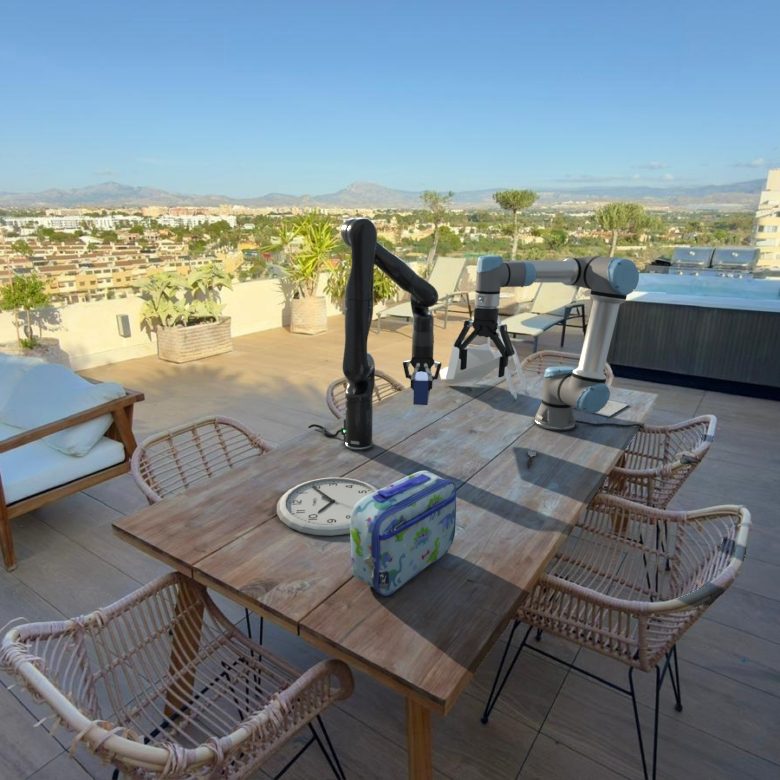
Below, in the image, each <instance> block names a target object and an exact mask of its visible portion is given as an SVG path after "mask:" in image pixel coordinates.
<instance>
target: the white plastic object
mask: <svg viewBox="0 0 780 780" xmlns="http://www.w3.org/2000/svg"><path fill="white" fill-rule="evenodd" d="M497 323H498V325H503V324H502V321H501V318H500V315H498V321H497ZM497 332H498V336H499V338H500V340H501V341H502V343H503V345H504V342H503V339H502V337H501V333H500V331H499V329H497ZM456 340H457V338H454V340H453V344H452V349H451V353H450V357H449V362H448V366H446V367H444V368H440V372H439V376H440V381H442V383H443V384H444V385H445V386H449V385H458V384H467V383H468V384H469V383H473V384H477V383H480V382H482V381H484V378H485V377H486V376H487V375H489V374H490V373H492V372H494V371H495V370H496V369H497V368H499V362H500V357H501V356H502V355H501V353H500V351H499V350H498V349H496V350H495V349H493V348H492V347H491V346H490V344H489V343H488V342H487V343H483V344H479V345H473V346H469V345H468V346H467V347H466V348H465V349H467V365H466V369H464V370H460V366H461V359H459V349H458V348H457V347H454V344H455V342H456ZM464 341H465V339H464V340H463V342H464ZM463 342H462V343H463ZM504 346H505V345H504ZM512 346H513V349H514V352H515V354H514V355H512V356H509V357H508V361H510V360H513V363H514V366H515V369H516V372H517V376H518V380H519V382H520V385H521V389H522V391H523V393H524V395H525V396H526V397H528V396H531V395H530V390H529V388H528V387H529V386H528V384H527V381H526V378H525V375H524V371H523V369H522V368H523V367H522V366H521V362H520V359H519V355H518V352H517V349H516V347H515V346H514V345H513V344H512ZM504 376H505V380H506V383H507V386H508V390H509V393H510V394H511V395H512V397H513V398H514V399H515V400H517V392H516V391H517V390H516V388H515V385H514V381H513V378H512V375H511V371H510V369H509V364H508V365H507V367H505V372H504Z"/></svg>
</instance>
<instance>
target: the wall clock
mask: <svg viewBox="0 0 780 780" xmlns="http://www.w3.org/2000/svg"><path fill="white" fill-rule="evenodd" d="M378 490H380V489H379V488H377V487H376V486H374V485H372V484H371V483H369V482H365V481H362V480H359V479H355V478H349V477H338V476H337V477H335V476H333V477H332V476H331V477H322V478H317V479H312V480H307V481H305V482H302V483H299V484H297V485H295V486H293V487H292V488H290V489H288V490H287V491H286V492H285V493H284V494H283V495H281V496H280V498H279V499H278V502H277V503H276V515H277V517H278V518H279V520H280V521H281V522H282V523H283V524H285V525H286V526H287V527H288V528H290V529H293V530H295V531H297V532H299V533H303V534H308V535H312V536H327V537H328V536H329V537H331V536H332V537H333V536H342V535H350V517H351V513H352V510H353V508H354V506H355V505H356V503H357V502H358V501H359V500H360V499H362V498H364V497H365V496H367V495H370V494H372V493H374V492H376V491H378Z"/></svg>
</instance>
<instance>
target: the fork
mask: <svg viewBox="0 0 780 780" xmlns="http://www.w3.org/2000/svg"><path fill="white" fill-rule="evenodd" d="M533 448H535V449H533ZM533 448H531V447H529V448H528V451H527V456H529V459H528V460H527V469H530V467H531V465H532V463H533V460H532V459H533V457H535V456H537V445H536V447H535V445H534V446H533Z"/></svg>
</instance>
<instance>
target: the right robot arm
mask: <svg viewBox="0 0 780 780" xmlns="http://www.w3.org/2000/svg"><path fill="white" fill-rule="evenodd" d="M475 272H476V275H475V290H474V291H475V292H474V293H475V294H474V308H473V321H472V320H471V319H465V320H464V321H463V327H462V329H461V331H460V333H459V335H458V337H457V338H456V339H457V340H456V342H455V344H454V343H453V344H454V347H457V348H458V349H459V359H461V366H460V370H464V369H466V365H467V349H465V348H466V347H467V346H469V345H470V344H471V343H472V342H473V340H474V339H476V338H477V336H478V337H484V338H490V340H492V342H493V344H494V345H495V346H496V348H497V350H499V351H500V353H501V355H502V356H501V357H500V362H499V367H498V375H497V376H498V378H499V379H500V378H503V377H504V376H505V373H504V372H505V367H507V365H508V366H509V360H508V357H509V356H512V355H514V354H515V352H514V349H513V346H514V345H513V343H512V341H511V338H510V336H509V333H508V325H507V324H506V323H504V324H502V325H498V323H497V321H498V316H499V312H500V311H499V306H500V296H501V288H524V287H530V286H532V285H533V284H534V283H535V284H536V283H541V284H542V283H544V284H545V283H547V284H548V283H549V284H550V283H552V284H553V283H557V284H558V283H559V284H562V285H564V286H573V287H579V288H582V289H583V288H584V289H588V290H590V293H589V296H590V297H591V299H592V305H591V310H590V314H589V319H588V323H587V327H586V332H585V335H584V340H583V345H582V349H581V352H580V353H581V354H580V356H579V362H578V365H577V367H574V366H566V365H565V366H564V365H562V366H561V365H559V366H558V365H557V366H549V367H547V368H546V369H545V370H544V375H543V381H542V392H541V402H540V405H539V407H538V410H537V411H536V413H535V417H534V424H535V425H536V426H537V427H539V428H542V429H544V430H549V431H556V432H567V431H572V430H574V429H575V428H576V423H577V424H582V425H588V426H593V427H596V426H597V427H598V426H599V427H601V426H614V427H625V428H630V427H639V428H640V429H645V427H644V426H643V424H642V425H641V424H639V423H630V424H623V423H614V422H613V423H612V422H602V423H600V422H599V423H593V422H589V421H588V422H587V421H583V420H578V419H576V418H575V417H576V416H575V413H574V409H575V410H577V411H579V412H581V413H586V414H589V415H590V414H591V415H593V414H596V412H598V411H600V410H601V409H602V408H603V407H604V406H605V405H606V404H607V402H608V400H610V396H611V390H610V388H609V386H608V385H607V384H606V382H607V376H606V374H605V372H604V371H605V368H606V367H605V366H606V362H607V358H608V355H609V351H610V346H611V342H612V339H613V334H614V330H615V327H616V326H615V325H616V322H617V318H618V313H619V310H620V305H622V303H624V302H626V301H627V296H628V295H630V294H632V293H633V292H634V290H636V289H637V286H638V285H639V281H640V272H639V268H638V267H637V265H636V264H635V262H634V261H632V260H631V259H630V258H624V257H620V256H619V257H617V256H601V255H591V256H582V257H581V256H580V257H567V258H565V259H564V260H549V259H548V260H541V259H540V260H539V259H538V260H537V259H536V260H535V259H503V257H502V256H500V255H480V256H479V257H478V258H477V263H476V269H475ZM471 327H472V328H473V331H472V332H470V334H469V336H468V337H467V334H468V333H469V331H470V328H471ZM498 329H499V331H500V333H501V337H502V339H503V342H504V345H505V346H504V345H503V343H502V341H501V338H500V336H499V333H498V332H499V331H498ZM466 337H467V338H466ZM465 338H466V339H465ZM463 340H464V342H463ZM462 342H463V343H462ZM512 345H513V346H512Z"/></svg>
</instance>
